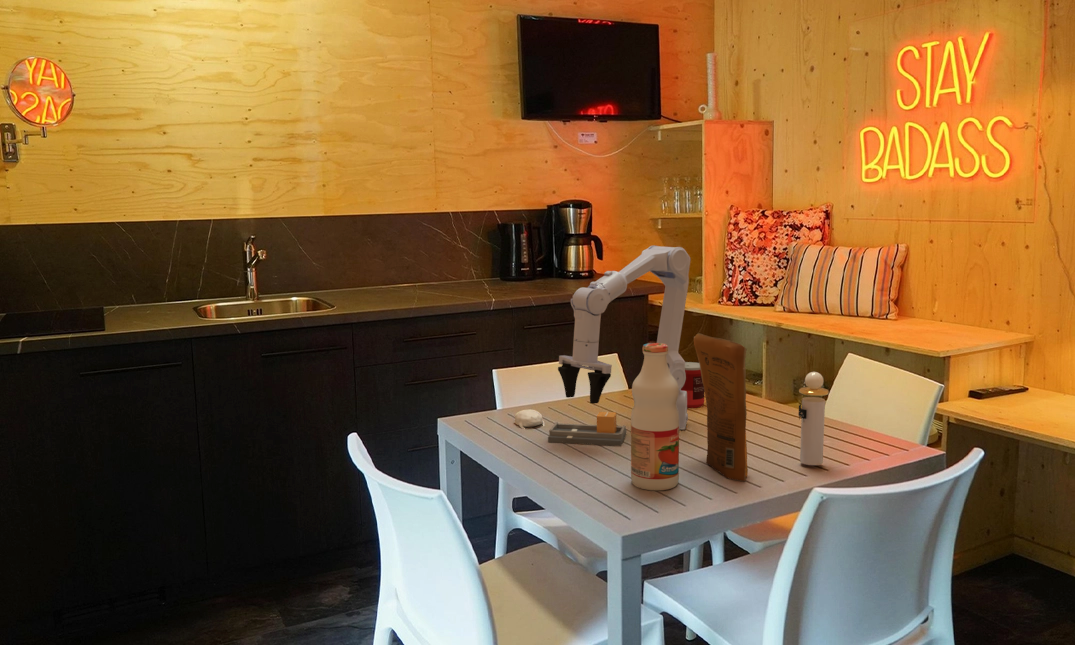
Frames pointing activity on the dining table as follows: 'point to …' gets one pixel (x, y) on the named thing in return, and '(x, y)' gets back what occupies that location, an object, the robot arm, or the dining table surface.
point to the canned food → (693, 385)
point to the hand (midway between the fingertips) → (582, 400)
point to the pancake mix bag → (724, 404)
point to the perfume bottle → (812, 420)
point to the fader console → (585, 434)
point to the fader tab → (606, 422)
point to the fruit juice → (655, 423)
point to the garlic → (528, 418)
